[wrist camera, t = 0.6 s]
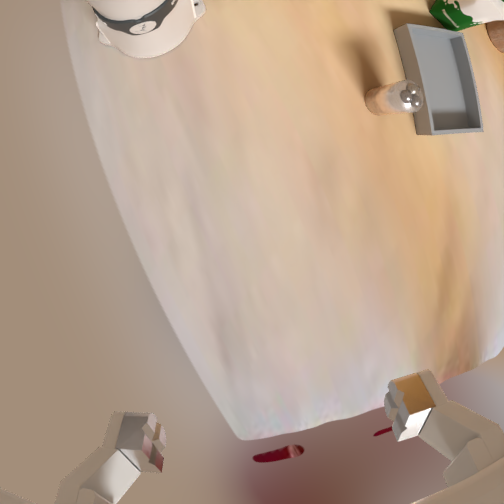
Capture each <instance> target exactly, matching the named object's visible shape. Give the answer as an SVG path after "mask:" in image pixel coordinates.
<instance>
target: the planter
mask: <svg viewBox="0 0 504 504" xmlns="http://www.w3.org/2000/svg"><path fill="white" fill-rule="evenodd" d="M487 31H488V35H489V37H490V39H491V41H492V43H493V44H494V46H495V47H496V48H497V49H498V50H499V51H500V52H502V53H504V20H495V21H491V22H487Z"/></svg>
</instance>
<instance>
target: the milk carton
mask: <svg viewBox="0 0 504 504" xmlns="http://www.w3.org/2000/svg"><path fill="white" fill-rule="evenodd" d="M429 12H430V13H431V14H432V15H433V16H434V17H435V18H436V19H437V20H438V21H439V22H440V23H441V24H442V25H443V26H444V27H445V28H446V29H447V30H451V31H455V32H456V31H459V30H462V29H465V28H469V27H472V26H476V25H479V24H483V23H487V22H491V21H495V20H504V0H436V1H435V3H434V5H433V6H432V8H431V10H430V11H429Z"/></svg>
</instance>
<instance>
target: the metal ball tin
mask: <svg viewBox="0 0 504 504" xmlns="http://www.w3.org/2000/svg"><path fill="white" fill-rule="evenodd" d="M423 100H424V99H423V93H422V91H421V89H420V87H419V86H418V85H417V84H416V83H415V82H413V81H411V80H404V81H400V82H396V83H392V84H388V85H384V86H381V87H377V88H373V89H371V90H369V91H368V92H367V93H366V96H365V104H366V106H367V108H368V110H369V111H370V112H371V113H373V114H375V115H388V114H398V113H409V112H417V111H419V110H420V109H421V107H422V105H423Z"/></svg>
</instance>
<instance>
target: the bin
mask: <svg viewBox="0 0 504 504" xmlns="http://www.w3.org/2000/svg"><path fill="white" fill-rule="evenodd" d="M393 31H394V34H395V38H396V41H397V45H398V48H399V52H400V55H401V59H402V63H403V67H404V71H405V75H406V80H411V81H413V82H415V83H416V84H417V85H418V86H419V87H420V89H421V91H422V93H423V99H424V100H423V105H422V107H421V109H420V110H419V111H417V112H413V115H414V120H415V127H416V133H417V135H441V134H454V133H470V132H484V131H483V123H482V116H481V109H480V103H479V98H478V92H477V87H476V82H475V77H474V73H473V69H472V65H471V61H470V57H469V53H468V49H467V46H466V42H465V39H464V35H463V33H460V32H455V31H451V30H446V29H440V28H435V27H429V26H422V25H415V24H407V23H406V24H404V25H402V26H400V27H398V28H396V29H394V30H393Z"/></svg>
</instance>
